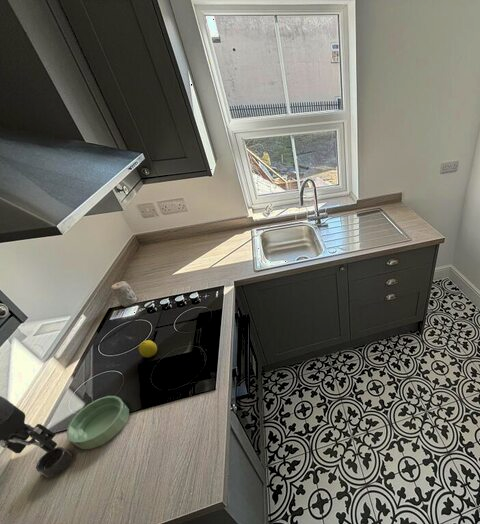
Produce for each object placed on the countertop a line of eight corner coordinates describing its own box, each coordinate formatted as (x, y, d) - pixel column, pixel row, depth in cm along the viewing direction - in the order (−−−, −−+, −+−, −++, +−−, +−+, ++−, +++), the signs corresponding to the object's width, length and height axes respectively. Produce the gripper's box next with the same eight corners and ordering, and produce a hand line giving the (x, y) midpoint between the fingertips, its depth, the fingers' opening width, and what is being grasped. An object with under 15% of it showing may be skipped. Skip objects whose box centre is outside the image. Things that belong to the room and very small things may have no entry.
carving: (120, 310, 138) (106, 290, 131) (126, 299, 144) (114, 280, 138) (134, 307, 139) (122, 288, 132) (140, 297, 145) (128, 278, 138)
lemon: (161, 348, 118) (153, 334, 113) (158, 359, 113) (149, 345, 109) (146, 352, 116) (137, 338, 112) (143, 363, 112) (133, 349, 108)
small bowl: (44, 483, 80) (33, 476, 78) (49, 461, 85) (39, 454, 82) (71, 470, 83) (61, 463, 80) (75, 449, 87) (66, 442, 85)
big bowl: (72, 460, 85) (62, 452, 82) (80, 418, 95) (71, 410, 92) (129, 433, 90) (121, 425, 88) (130, 396, 101) (123, 388, 98)
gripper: (-56, 435, 66) (-2, 465, 75) (5, 433, 65) (51, 464, 75) (-21, 403, 72) (24, 435, 81) (35, 401, 72) (74, 433, 81)
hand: (37, 448), depth 78 cm, fingers open, 8 cm apart
